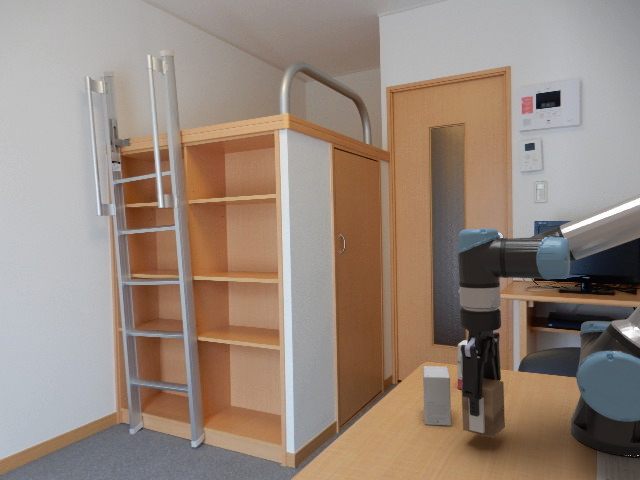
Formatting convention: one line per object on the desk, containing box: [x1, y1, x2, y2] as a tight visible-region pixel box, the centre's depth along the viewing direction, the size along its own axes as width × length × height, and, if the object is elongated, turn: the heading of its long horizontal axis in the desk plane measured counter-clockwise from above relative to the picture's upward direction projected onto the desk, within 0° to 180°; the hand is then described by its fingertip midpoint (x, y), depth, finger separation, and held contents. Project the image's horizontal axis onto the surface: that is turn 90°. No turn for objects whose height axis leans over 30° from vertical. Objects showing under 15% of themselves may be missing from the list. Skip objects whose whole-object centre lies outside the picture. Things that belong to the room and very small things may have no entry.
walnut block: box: [461, 378, 506, 439], centre depth 92 cm, size 6×6×9 cm
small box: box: [422, 365, 452, 427], centre depth 104 cm, size 8×6×10 cm
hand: (483, 424), depth 92 cm, fingers closed on walnut block, 6 cm apart
